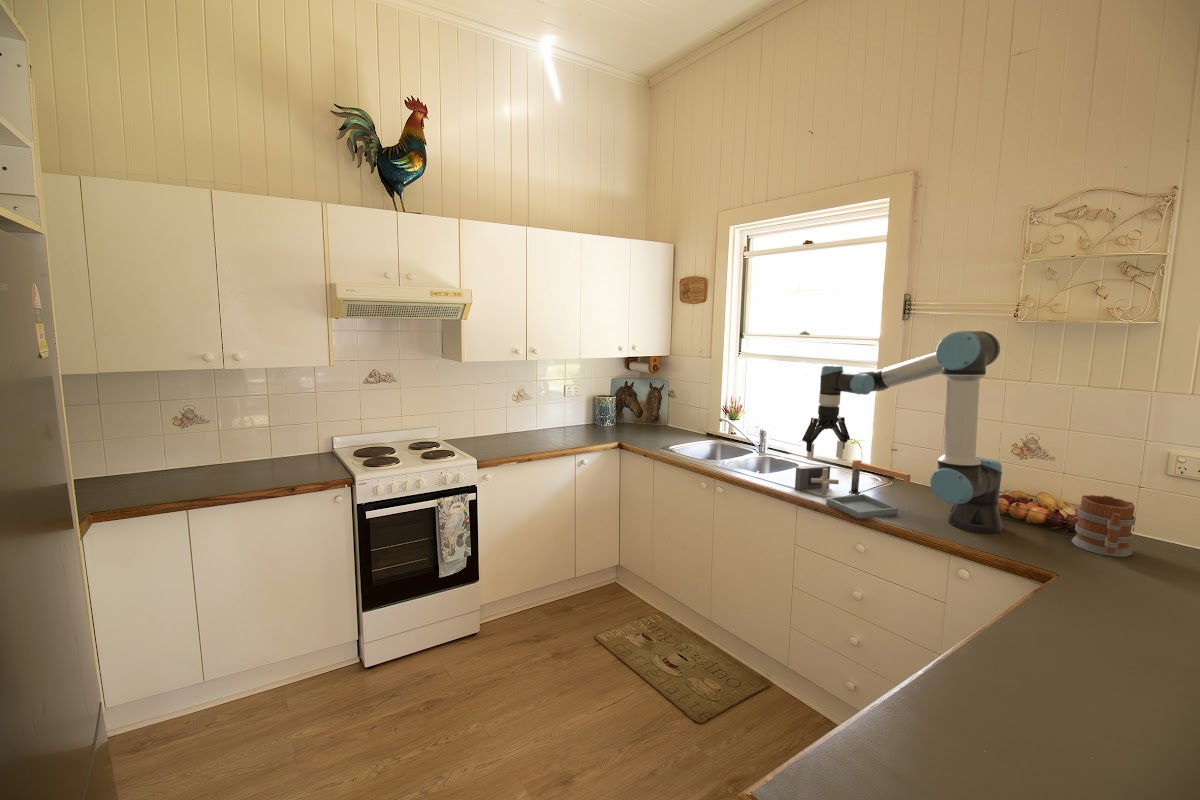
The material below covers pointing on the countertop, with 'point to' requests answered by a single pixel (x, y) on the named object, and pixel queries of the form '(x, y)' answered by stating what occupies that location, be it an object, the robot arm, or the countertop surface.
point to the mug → (1105, 526)
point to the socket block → (809, 477)
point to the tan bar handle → (881, 470)
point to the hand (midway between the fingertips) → (824, 458)
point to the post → (855, 482)
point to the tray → (861, 506)
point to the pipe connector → (824, 481)
